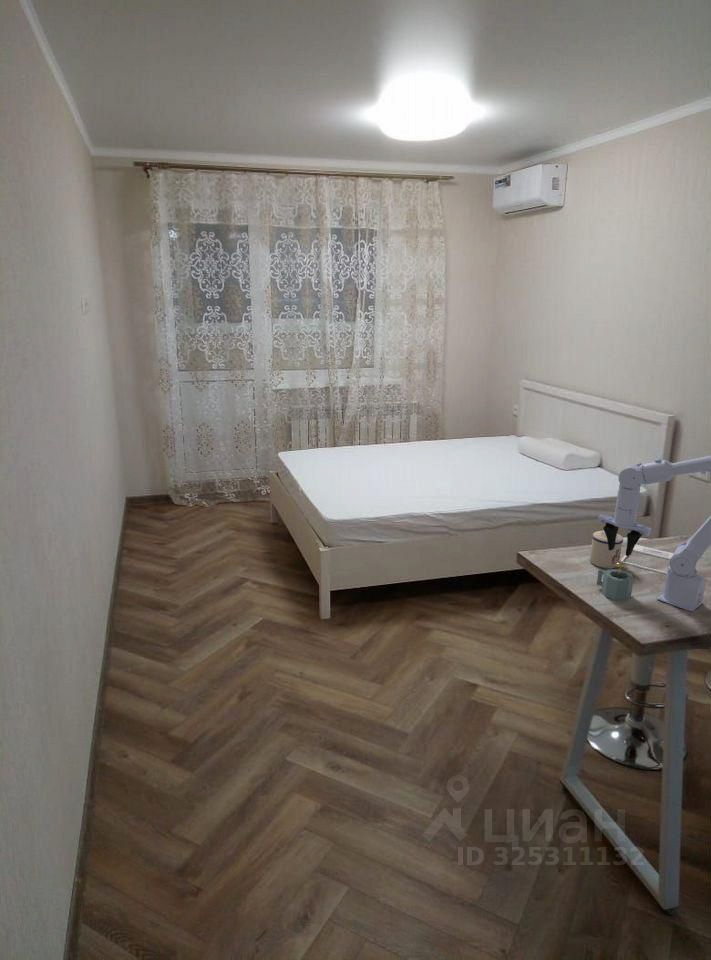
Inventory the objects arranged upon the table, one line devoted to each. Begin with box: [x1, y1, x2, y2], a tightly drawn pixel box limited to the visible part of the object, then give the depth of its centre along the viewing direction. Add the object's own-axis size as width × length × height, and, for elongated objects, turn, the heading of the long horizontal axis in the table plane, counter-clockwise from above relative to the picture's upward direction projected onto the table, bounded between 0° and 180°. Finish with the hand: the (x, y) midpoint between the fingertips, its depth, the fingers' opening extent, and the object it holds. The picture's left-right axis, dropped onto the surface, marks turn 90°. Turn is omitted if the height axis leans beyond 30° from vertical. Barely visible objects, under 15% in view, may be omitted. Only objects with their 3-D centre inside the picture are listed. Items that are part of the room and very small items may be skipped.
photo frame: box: [619, 543, 674, 576], centre depth 205 cm, size 15×1×18 cm
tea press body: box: [596, 568, 635, 601], centre depth 181 cm, size 9×7×6 cm
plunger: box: [613, 560, 626, 579], centre depth 179 cm, size 4×4×5 cm
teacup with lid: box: [589, 530, 624, 569], centre depth 201 cm, size 12×9×12 cm
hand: (619, 552), depth 184 cm, fingers open, 4 cm apart
